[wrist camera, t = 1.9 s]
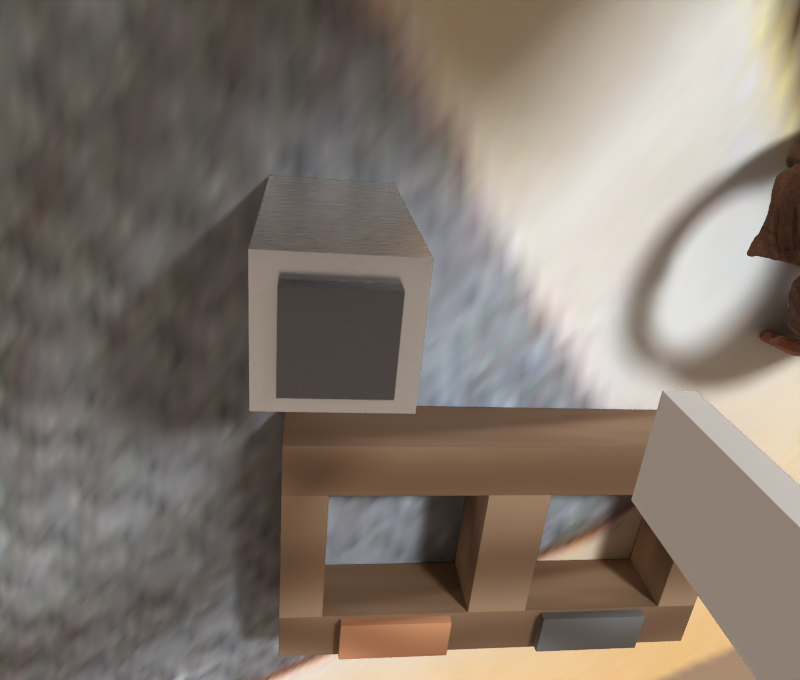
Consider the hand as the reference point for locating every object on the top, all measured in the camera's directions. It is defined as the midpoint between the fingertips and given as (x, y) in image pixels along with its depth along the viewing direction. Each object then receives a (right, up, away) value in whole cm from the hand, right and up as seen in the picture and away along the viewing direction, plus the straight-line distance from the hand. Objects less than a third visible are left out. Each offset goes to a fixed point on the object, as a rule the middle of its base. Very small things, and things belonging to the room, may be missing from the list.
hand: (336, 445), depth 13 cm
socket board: (+5, -6, +18) cm, 19 cm away
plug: (-1, +6, +11) cm, 13 cm away
